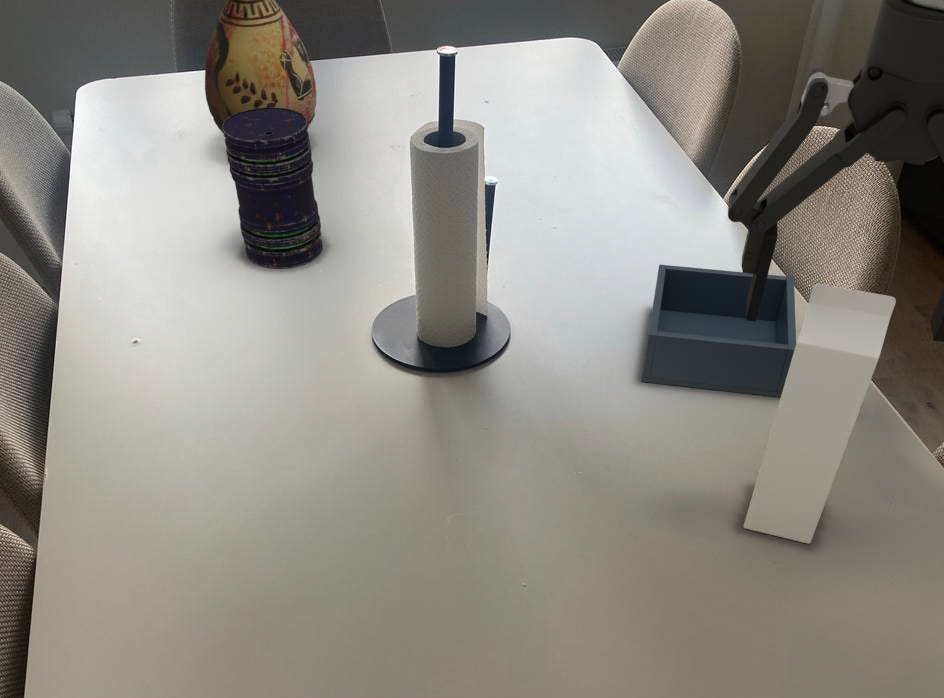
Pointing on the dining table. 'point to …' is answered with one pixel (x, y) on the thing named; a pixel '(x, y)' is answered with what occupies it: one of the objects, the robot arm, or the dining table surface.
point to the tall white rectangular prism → (818, 409)
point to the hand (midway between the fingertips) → (842, 322)
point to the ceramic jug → (257, 63)
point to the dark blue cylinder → (274, 186)
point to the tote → (720, 332)
